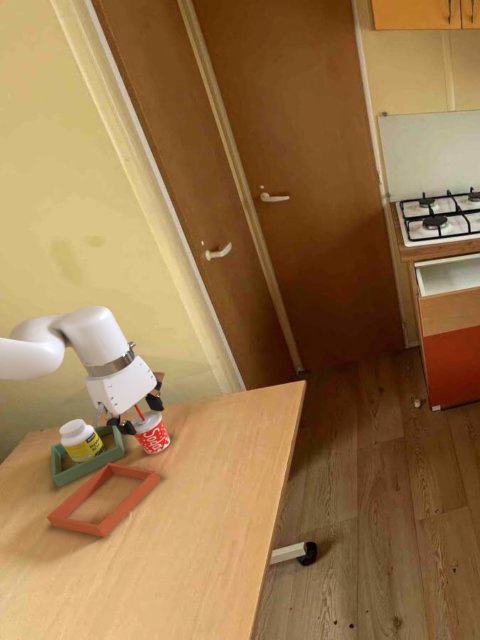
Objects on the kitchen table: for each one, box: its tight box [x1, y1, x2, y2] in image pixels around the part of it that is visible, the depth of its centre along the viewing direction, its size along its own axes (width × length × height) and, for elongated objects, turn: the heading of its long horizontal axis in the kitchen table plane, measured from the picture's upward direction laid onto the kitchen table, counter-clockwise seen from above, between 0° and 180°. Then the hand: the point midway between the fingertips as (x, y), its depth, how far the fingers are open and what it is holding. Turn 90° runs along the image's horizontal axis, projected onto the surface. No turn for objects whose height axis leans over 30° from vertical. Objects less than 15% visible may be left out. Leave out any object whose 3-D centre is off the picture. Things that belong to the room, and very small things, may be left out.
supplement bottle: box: [58, 418, 106, 465], centre depth 96 cm, size 5×5×10 cm
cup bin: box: [46, 462, 161, 538], centre depth 88 cm, size 12×12×4 cm
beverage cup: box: [130, 403, 171, 455], centre depth 97 cm, size 6×6×14 cm
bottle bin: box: [50, 426, 126, 488], centre depth 97 cm, size 11×11×4 cm
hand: (144, 420), depth 96 cm, fingers closed on beverage cup, 6 cm apart
